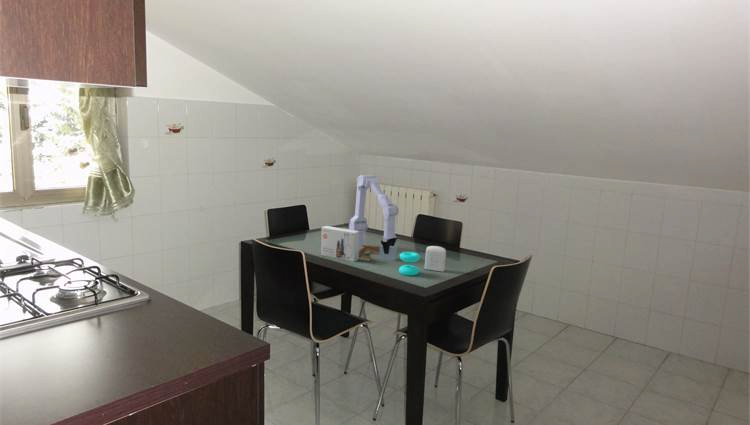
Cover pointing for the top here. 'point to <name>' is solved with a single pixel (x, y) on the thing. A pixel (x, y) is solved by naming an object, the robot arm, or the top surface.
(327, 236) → the skincare box
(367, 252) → the offcut stack
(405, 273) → the donuts
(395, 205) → the robot arm
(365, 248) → the brown wooden l-shape
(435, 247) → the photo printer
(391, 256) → the light blue block
